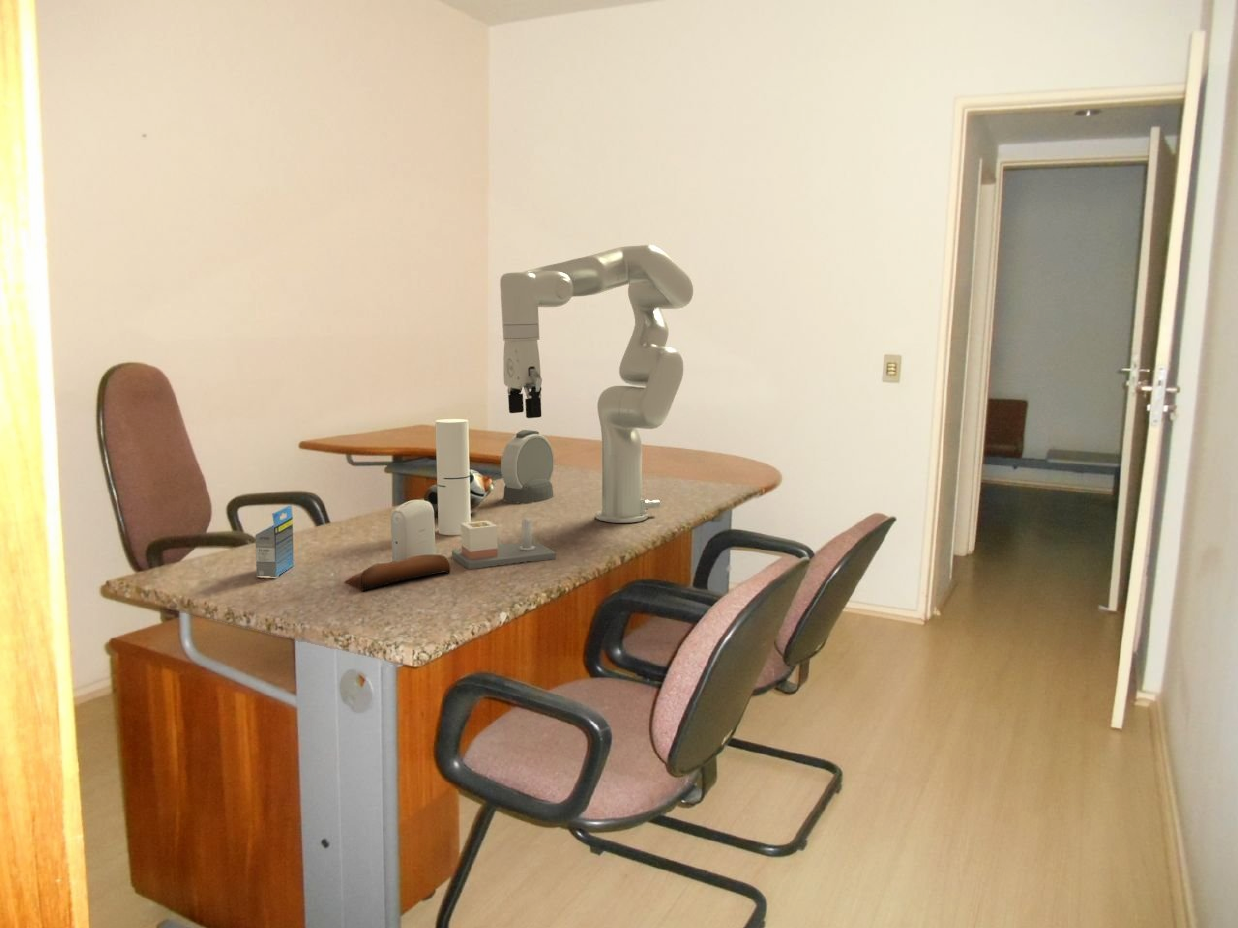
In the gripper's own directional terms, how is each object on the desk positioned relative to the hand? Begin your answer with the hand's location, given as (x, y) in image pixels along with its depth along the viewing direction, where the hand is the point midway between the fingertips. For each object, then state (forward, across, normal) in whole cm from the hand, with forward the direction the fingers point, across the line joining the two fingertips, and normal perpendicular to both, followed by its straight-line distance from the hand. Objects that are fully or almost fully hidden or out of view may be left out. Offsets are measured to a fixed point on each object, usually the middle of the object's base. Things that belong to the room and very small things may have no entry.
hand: (524, 415), depth 195 cm
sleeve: (+25, +11, -16) cm, 32 cm away
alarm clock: (+29, -44, +17) cm, 55 cm away
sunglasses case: (+26, +17, -33) cm, 46 cm away
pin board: (+26, +12, -11) cm, 31 cm away
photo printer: (+26, +8, -28) cm, 39 cm away
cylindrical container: (+27, -15, -12) cm, 33 cm away
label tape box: (+25, +2, -52) cm, 58 cm away
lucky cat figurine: (+28, -34, -5) cm, 44 cm away
